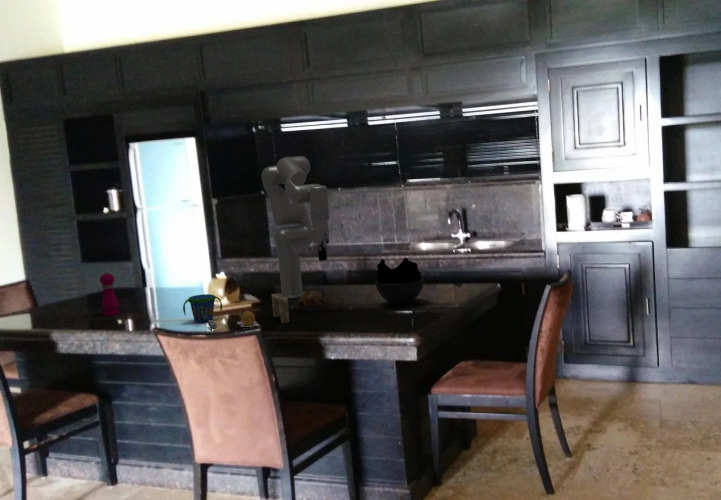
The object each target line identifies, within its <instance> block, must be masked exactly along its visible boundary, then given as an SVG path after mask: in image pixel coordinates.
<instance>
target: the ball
mask: <svg viewBox="0 0 721 500" xmlns="http://www.w3.org/2000/svg"><path fill="white" fill-rule="evenodd" d="M241 321H242V323H243V324H244V325H251V324H253V323H254V321H256V314H254V312H252V311H248V310H247V311H244V312H243V313H242V314H241V316H240V322H241Z"/></svg>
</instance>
